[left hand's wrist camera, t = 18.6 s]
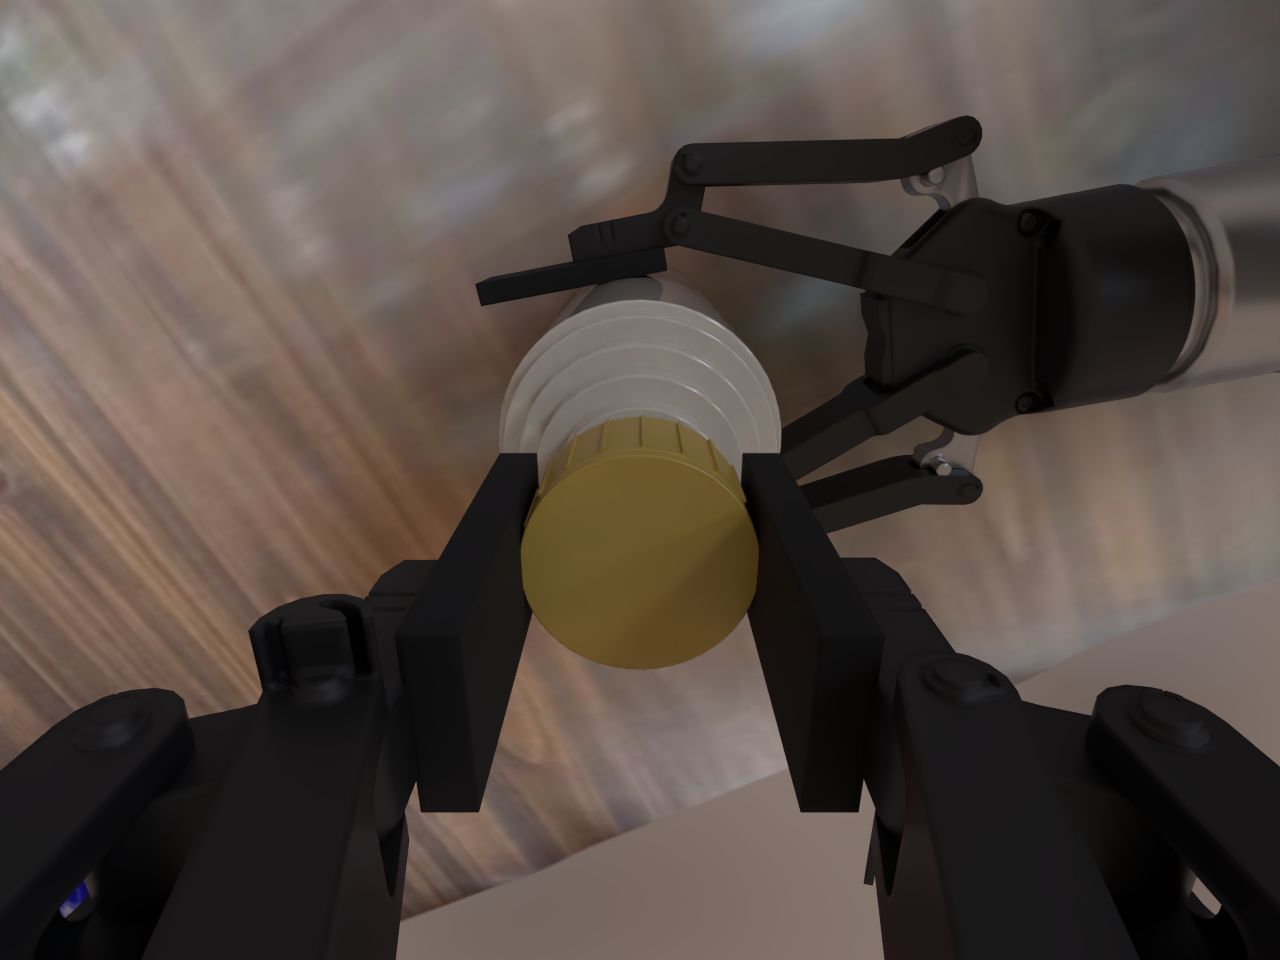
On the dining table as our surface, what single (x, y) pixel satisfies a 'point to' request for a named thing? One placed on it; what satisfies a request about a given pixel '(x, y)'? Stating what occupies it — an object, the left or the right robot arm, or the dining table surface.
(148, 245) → the dining table surface
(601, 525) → the cap
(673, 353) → the bottle
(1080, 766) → the left robot arm
